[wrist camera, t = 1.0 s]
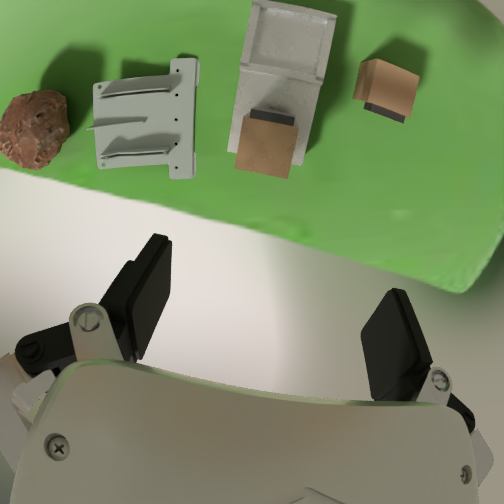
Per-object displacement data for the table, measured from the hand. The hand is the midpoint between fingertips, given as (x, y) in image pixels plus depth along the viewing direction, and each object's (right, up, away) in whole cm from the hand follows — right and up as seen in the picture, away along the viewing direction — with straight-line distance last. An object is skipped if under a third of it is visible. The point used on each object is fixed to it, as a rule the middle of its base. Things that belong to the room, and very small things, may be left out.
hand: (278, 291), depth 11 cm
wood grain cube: (+13, +20, +14) cm, 27 cm away
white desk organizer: (+2, +20, +15) cm, 25 cm away
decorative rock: (-30, +21, +18) cm, 41 cm away
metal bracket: (-14, +18, +19) cm, 29 cm away
